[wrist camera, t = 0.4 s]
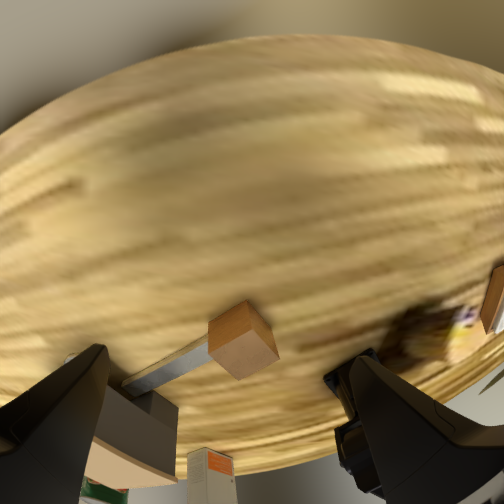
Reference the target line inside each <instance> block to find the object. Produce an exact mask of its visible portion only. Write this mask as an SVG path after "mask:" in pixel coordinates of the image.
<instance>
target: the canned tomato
mask: <svg viewBox="0 0 504 504" xmlns="http://www.w3.org/2000/svg"><path fill="white" fill-rule="evenodd" d="M128 491H129V488H128V489H112V488H110V487H107V486H105V485H103V484H101V483H99V482H97V481H95V480H93V479H91V478H89V477H87V476H85V475H84V478H83V484H82V488H81V495H80V499H81V500H82V501H84V502H86V503H88V504H127V502H128Z"/></svg>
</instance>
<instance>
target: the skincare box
mask: <svg viewBox="0 0 504 504" xmlns="http://www.w3.org/2000/svg"><path fill="white" fill-rule="evenodd" d="M187 498H188V499H187V502H188V503H187V504H237V497H236V487H235V477H234V467H233V458H231V457H228V456H225V455H222V454H220V453H217V452H215V451H213V450H210V449H208V448H206V447H204V448H202V449H200V450H197V451H194V452H191V453H189V454H188V458H187Z"/></svg>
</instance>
